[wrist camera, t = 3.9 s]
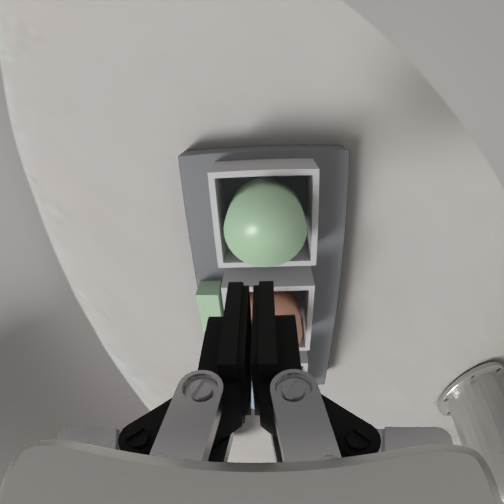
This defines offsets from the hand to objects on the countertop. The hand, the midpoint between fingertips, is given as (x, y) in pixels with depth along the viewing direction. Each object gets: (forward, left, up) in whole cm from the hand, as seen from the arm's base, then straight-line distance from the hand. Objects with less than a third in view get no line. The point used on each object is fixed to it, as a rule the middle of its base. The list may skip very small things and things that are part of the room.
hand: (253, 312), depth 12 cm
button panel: (0, +9, -14) cm, 17 cm away
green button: (0, 0, -11) cm, 11 cm away
